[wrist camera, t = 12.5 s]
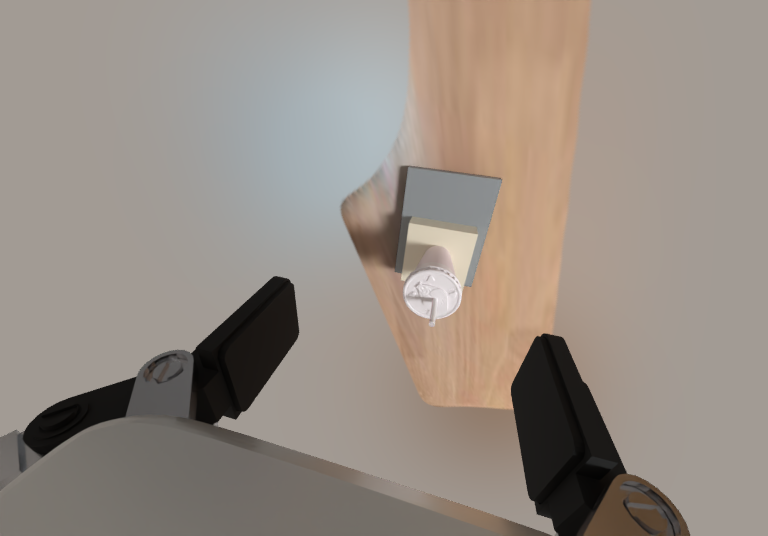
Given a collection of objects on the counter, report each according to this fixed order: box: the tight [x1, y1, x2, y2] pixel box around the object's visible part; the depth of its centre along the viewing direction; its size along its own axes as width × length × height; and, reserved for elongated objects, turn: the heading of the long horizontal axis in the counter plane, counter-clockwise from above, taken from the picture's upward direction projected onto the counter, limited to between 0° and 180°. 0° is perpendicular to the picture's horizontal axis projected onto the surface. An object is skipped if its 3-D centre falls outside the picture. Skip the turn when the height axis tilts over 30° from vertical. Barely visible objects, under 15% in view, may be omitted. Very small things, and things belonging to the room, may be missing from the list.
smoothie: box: [403, 246, 462, 327], centre depth 32 cm, size 6×6×14 cm
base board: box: [395, 166, 502, 291], centre depth 39 cm, size 16×12×4 cm
